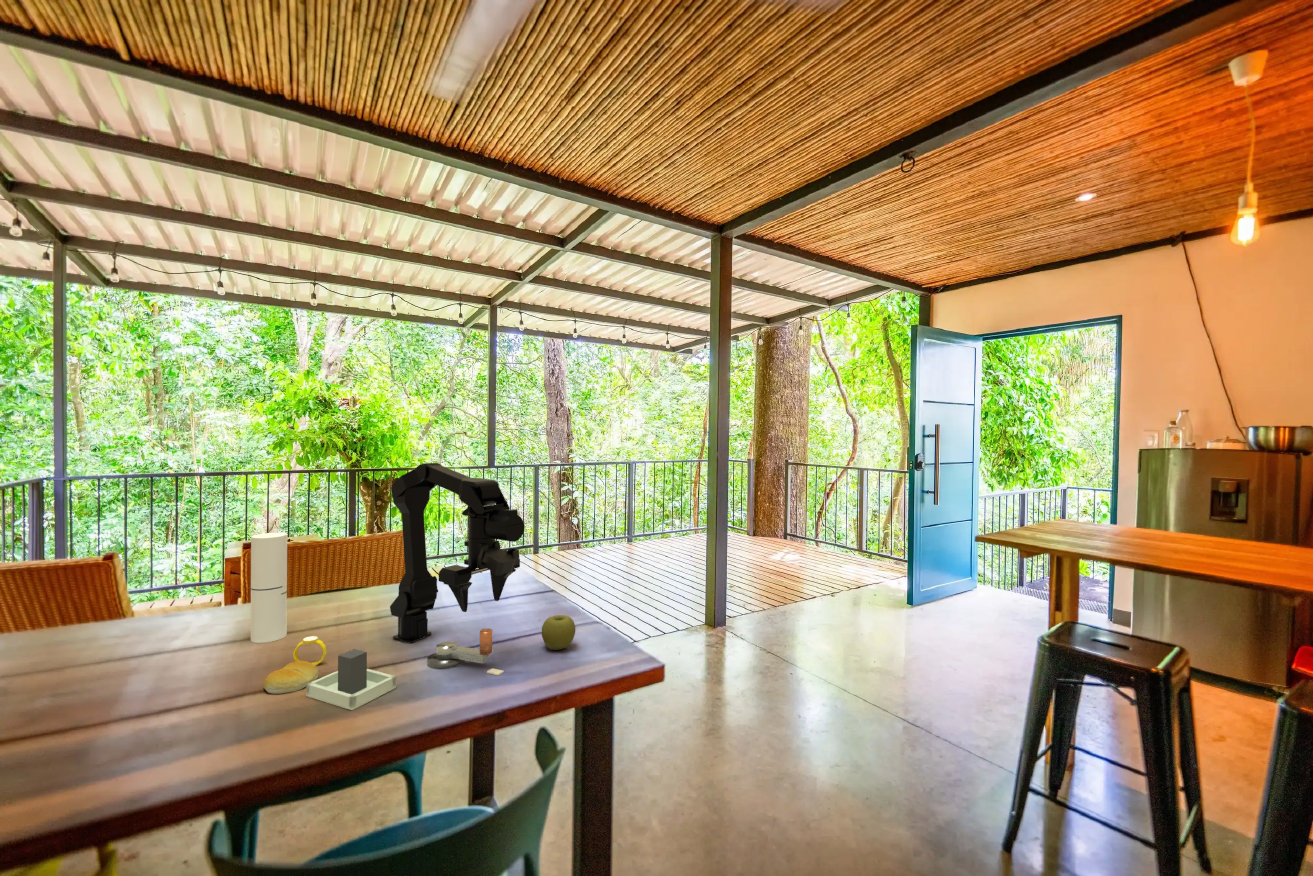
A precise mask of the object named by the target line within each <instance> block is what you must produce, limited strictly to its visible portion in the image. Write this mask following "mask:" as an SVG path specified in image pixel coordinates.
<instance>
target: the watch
mask: <svg viewBox="0 0 1313 876" xmlns="http://www.w3.org/2000/svg"><path fill="white" fill-rule="evenodd" d="M303 644H305V645H311V644H317V645H318V646H320V648H321V649H322V656H321V658H320V659H319V660H318V661H314V662H313V661H312V662H311V663H312V664H313V665H315V666H316V667H317V666H319V664H320V663H322V662H323V661H324V659H325V657H326V655H327V651H328V650H327V646H326V644H325V643H324V641H322V640H320V639H319V637H318V636H316V635H311V636H306V637H304V638H303V639H302V641H300V642H299V643H298V644H297V645H296V647H295V649H294V650H293V655H292V658H293V660H294V661H293V662H295V661H301V660H300V658H299V656H298V649H300V646H302V645H303Z"/></svg>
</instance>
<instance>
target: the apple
mask: <svg viewBox="0 0 1313 876" xmlns="http://www.w3.org/2000/svg"><path fill="white" fill-rule="evenodd" d="M575 635H576V625H575V621H574V620H573V618H572V617H570V616H569V615H564V614H555V615H553V616H549V617H548V618H546V619H545V621H544V622H543V624H542V626H541V637H542V640H543V643H544V644H545V646H546V647H547V648H548V649H550V650H554V651H555V650H556V651H558V650H559V651H560V650H563V649H566V648H568V647H569V646H570V645H571V644H572V642H573V641H574V638H575Z"/></svg>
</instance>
